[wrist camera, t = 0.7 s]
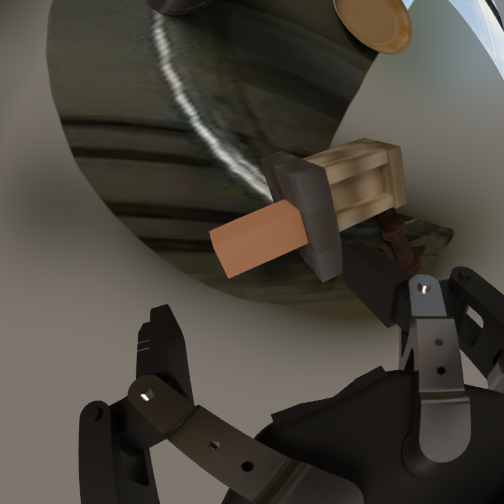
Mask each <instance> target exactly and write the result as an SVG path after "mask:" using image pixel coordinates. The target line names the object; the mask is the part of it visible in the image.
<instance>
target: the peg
mask: <svg viewBox="0 0 504 504" xmlns="http://www.w3.org/2000/svg"><path fill="white" fill-rule="evenodd" d="M209 232H210V236H211V240H212V244H213V247H214V249H215V252H216V254H217V256H218V258H219V260H220V262H221V264H222V266H223V268H224V270H225V272H226V274H227V276H228V278H231V277H233V276H236V275H238V274H240V273H242V272H245V271H247V270H249V269H252V268H254V267H256V266H258V265H261V264H263V263H265V262H267V261H270V260H272V259H274V258H276V257H279V256H281V255H283V254H285V253H288V252H290V251H292V250H294V249H297V248H299V247H301V246H303V245H305V244H308V240H307V236H306V232H305V229H304V225H303V221H302V218H301V214H300V211H299V210H298V209H297V208H296V207H295V206H294V205H292V204H291V203H290V202H289V201H287V200H286V199H284V200H281V201H279V202H277V203H274V204H272V205H269V206H267V207H265V208H262V209H260V210H257V211H255V212H253V213H250V214H248V215H246V216H243V217H241V218H239V219H236V220H234V221H232V222H229V223H227V224H225V225H223V226H220V227H218V228H216V229H213V230H211V231H209Z"/></svg>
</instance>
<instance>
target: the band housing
mask: <svg viewBox="0 0 504 504" xmlns="http://www.w3.org/2000/svg"><path fill="white" fill-rule="evenodd" d="M259 160H260V163H261V166H262V169H263V172H264V175H265V178H266V181H267V183H268V186H269V189H270V192H271V195H272V198H273V201H274V203H277V202H279V201H281V200H284V199H286V200H287V201H289V202H290V203H291V204H292V205H294V206H295V207H296V208H297V209H298V210H299V211H300V214H301V218H302V221H303V225H304V229H305V232H306V236H307V240H308V244H305V245H303V246H301V247H299V248H297V249H296V251H297V252H298V253H299V254H300V255H301V257H302V258H303V259H304V260H305V262H306V263H307V264H308V265H309V266H310V268H311V269H312V270H313V271H314V273H315V274H316V275H317V276H318V277H319V279H320V280H321V281H322V282H325V281H327V280H329V279H331V278H333V277H335V276H337V275H339V274H341V273H343V263H342V244H341V238H340V233H339V232H340V231H342V230H345V229H347V228H349V227H351V226H353V225H355V224H358V223H360V222H362V221H364V220H366V219H368V218H370V217H373V216H375V215H377V214H379V213H381V212H383V211H385V210H387V209H390V208H392V207H395V208H398V207H400V206H402V205H404V204H406V191H405V180H404V171H403V163H402V155H401V148H400V146H396V145H392V144H388V143H384V142H380V141H375V140H371V139H366V138H363V139H359V140H356V141H353V142H350V143H347V144H343V145H340V146H338V147H334V148H331V149H328V150H325V151H323V152H320V153H317V154H314V155H311V156H308V157H305V158H303V159H301V158H298V157H296V156H293V155H290V154H287V153H285V152H282V151H279V152H276V153H273V154H271V155H268V156H265V157H263V158H260V159H259Z"/></svg>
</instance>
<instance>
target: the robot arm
mask: <svg viewBox="0 0 504 504" xmlns="http://www.w3.org/2000/svg"><path fill="white" fill-rule="evenodd" d="M213 1H214V0H147V2H148V4H149V5H150V6H151V7H152V8H153V9H154V10H156V11H158V12H160V13H163V14H167V15H177V16H180V15H188V14H192V13H195V12H198V11H200V10H202V9H204V8H206V7H207V6H209V5H210V4H211V3H212V2H213ZM342 263H343V278H344V281H345V283H346V285H347V286H348V287H349V288H350V289H351V290H352V291H353V292H354V293H355V294H356V295H357V296H358V297H359V298H360V299H361V300H362V302H363V303H364V304H365V305H366V306H367V307H368V308H369V309H370V310H371V311H372V312H373V313H374V314H375V315H376V316H377V317H378V318H379V319H380V321H381V322H382V323H383V324H384V325H385V326H386V327H387V328H389V327H391V326H393V325H395V324H398V326H399V327H400V331H399V368H398V370H394V371H387V372H386V371H385V370H384V369H383V368H382V367H381V366H379V367H377V368H375V369H373V370H372V371H370V372H368V373H366V374H364V375H362V376H360V377H358V378H356V379H355V380H354V381H353V382H352V383H350V384H349V385H348V386H347V387H346V388H344V389H343V390H342V391H341V392H339V393H338V394H337V395H335V396H334V397H332V398H328V399H323V400H318V401H313V402H307V403H301V404H298V405H296V406H293V407H290V408H288V409H285V410H282V411H279V412H277V413H274V414H271V417H272V419H273V422H272V423H271V424H269V425H267V426H266V427H265V428H264V429H262V430H261V431H260V432H259V433H258V434H257V435H256V436H255V438H254V439H253V438H251V437H250V436H248V435H246V434H244V433H242V432H241V431H239V430H238V429H236V428H234V427H233V426H231V425H230V424H228V423H226V422H225V421H223V420H222V419H220V418H219V417H217V416H216V415H214V414H213V413H211V412H210V411H208V410H207V409H205V408H204V407H202V406H200V405H197V406H195V405H194V400H193V394H192V388H191V382H190V375H189V368H188V361H187V353H186V346H185V340H184V337H183V334H182V331H181V329H180V327H179V325H178V323H177V321H176V319H175V317H174V315H173V313H172V311H171V309H170V307H169V305H168V304H165V305H162V306H159V307H156V308H152V309H151V312H150V322H147V323H144V324H143V325H142V327H141V329H140V331H139V333H138V346H137V351H138V352H137V364H136V380H135V381H134V382H133V383H132V384H131V385H130V387H129V389H128V395H127V396H126V397H125V398H123V399H122V400H120V401H118V402H116V403H114V404H112V405H110V406H108V405H107V404H106V403H105V402H103V401H93V402H91V403H89V404H88V405H86V406H85V407H84V409H83V410H82V412H81V414H80V421H79V422H80V423H79V484H80V497H81V504H160V502H159V498H158V493H157V488H156V483H155V479H154V473H153V468H152V464H151V457H150V450H149V448H150V447H152V446H153V445H155V444H158V443H160V442H162V441H163V440H165V439H167V440H169V441H170V442H171V443H172V444H173V445H174V446H176V448H178V449H179V450H180V451H181V452H182V453H184V454H185V455H186V456H187V457H189V458H190V459H191V460H192V461H193V462H195V463H196V464H197V465H199V466H200V467H201V468H203V469H204V470H205V471H206V472H208V473H209V474H211V475H212V476H213V477H215V478H216V479H218V480H219V481H220V482H222V483H223V484H225V485H226V486H228V487H229V489H228V491H227V493H226V495H225V497H224V500H223V501H222V503H221V504H504V295H503V294H502V293H501V292H499V291H498V290H497V289H496V288H494V287H493V286H492V285H491V284H490V283H488V282H487V281H486V280H485V279H483V278H482V277H481V276H480V275H478V274H477V273H476V272H474V271H473V270H471V269H470V268H467V267H460V266H459V267H455V268H453V270H452V271H451V275H450V279H446V280H442V281H437V280H436V279H434V278H433V277H431V276H428V275H417V276H413V275H412V274H411V273H409V272H408V271H407V270H405V269H404V268H403V267H401V266H400V265H399V264H397V263H396V262H394V261H393V260H392V259H391V258H388V256H387V255H385V254H384V253H383V252H381V251H379V250H376V249H374V248H371V247H370V248H368V247H367V246H365V245H364V244H363V243H361V242H360V241H356V242H353V243H350V244H347V245H344V246H343V248H342ZM469 306H470V307H471V308H472V309H473V310H475V311H476V312H477V313H478V314H479V315H480V316H481V317H482V319H483V322H484V323H483V324H484V325H483V328H481V327H480V326H479V325H478V324H477V323H476V322H475V321H474V320H473V319H472V318H470V316H469V315H467V314H466V313H467V310H468V307H469ZM460 349H461V350H462V351H463V352H464V353H465V354H466V356H467V357H468V358H469V359H470V360H471V361H472V363H473V364H474V365H475V366H476V367H477V368H478V370H479V371H480V372H481V373H482V374H483V375H484V377H485V378H486V379H487V382H488V386H489V387H488V389H484V388H480V387H474V386H470V385H466V384H464V381H463V380H464V379H463V371H462V362H461V355H460Z"/></svg>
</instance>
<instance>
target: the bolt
mask: <svg viewBox="0 0 504 504" xmlns="http://www.w3.org/2000/svg"><path fill="white" fill-rule="evenodd" d="M377 217H378V219H379V221H380V223H381V225H380V230H381V234H382V237H383V239H384V240H385V241H389V242H390V243H391V245H392V248H393V250H394V252H395V254H396V256H397V260H396V261H395V262H396V263H397V264H399V265H400V266H401V267H403V268H404V269H405V270H407V271H408V272H409V273H411V274H412V275H413V276H414V275H415V274H416V273H417V272H418V271H419V270H420V269H421V267H422V264H421V260H420V257H419V254H418V251H412V250H411V247H410V244H409V242H408V239H407V237H406V234H405V233H406V232H407V229H406V226H405V223H404V221H403V218H402V217H400V216H397V214H396V212H395V210H394V207H392V208H390V209H387V210H385V211H383V212H381V213H379V214H377Z"/></svg>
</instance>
